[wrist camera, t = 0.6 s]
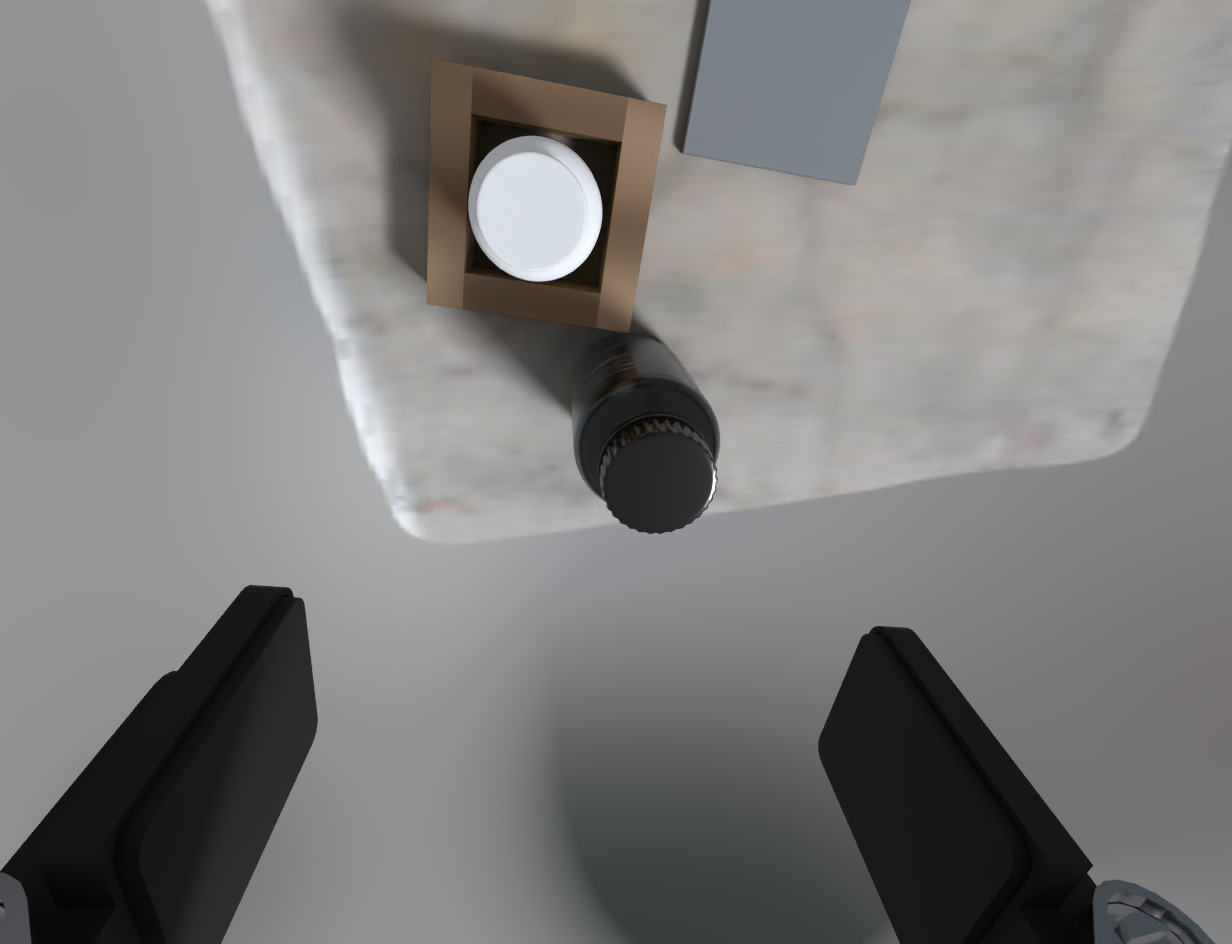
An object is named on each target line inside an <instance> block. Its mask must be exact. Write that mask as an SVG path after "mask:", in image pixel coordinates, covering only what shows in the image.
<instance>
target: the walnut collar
mask: <svg viewBox="0 0 1232 944" xmlns="http://www.w3.org/2000/svg"><path fill="white" fill-rule="evenodd" d="M666 108H667V105H665V104H660V103H655V102H650V101H645V100H640V99H635V98H629V97H624V96H619V95H614V94H609V93H604V92H599V91H594V90H589V89H584V88H579V87H574V86H569V85H564V84H559V83H554V82H549V81H544V80H539V79H534V78H529V77H523V76H518V75H513V74H508V73H503V72H498V71H493V70H488V69H483V68H478V67H473V66H468V65H463V64H458V63H453V62H448V61H443V60H438V59H433V58H431V98H430V151H429V205H428V258H427V304H431V305H438V306H445V307H452V308H459V309H466V310H473V311H480V312H487V313H494V314H501V315H508V316H515V317H522V318H529V319H536V320H543V321H550V322H557V323H564V324H571V325H578V326H585V327H592V328H599V329H606V330H612V331H619V332H626V333H629V330H630V324H631V318H632V312H633V306H634V300H635V294H636V288H637V282H638V276H639V270H640V264H641V258H642V252H643V246H644V240H645V234H646V228H647V222H648V216H649V210H650V204H651V198H652V192H653V186H654V180H655V174H656V168H657V162H658V156H659V150H660V144H661V138H662V132H663V126H664V120H665V114H666ZM480 121H485V122H491V123H496V124H501V125H507V126H512V127H517V128H523V129H528V130H533V131H539V132H544V133H550V134H555V135H560V136H566V137H571V138H576V139H582V140H587V141H593V142H598V143H603V144H609V145H614V146H617V152H616V159H615V166H614V173H613V180H612V188H611V195H610V202H609V209H608V216H607V224H606V231H605V238H604V245H603V252H602V259H601V267H600V274H599V281H598V284H591V283H585V282H578V281H572V280H565V279H559V278H558V279H555V280H550V281H528V280H524V279H520V278H517V277H515V276H513V275H510V274H508V273H507V272H505V271H503V270H500V269H493V268H487V267H480V266H474V265H473V259H474V239H475V235H474V233H473V230H472V227H471V223H470V218H469V210H468V201H469V192H470V188H471V184H472V180H473V177H474V175H475V172H476V170H477V168H478V160H479V140H480Z"/></svg>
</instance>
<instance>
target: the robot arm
mask: <svg viewBox="0 0 1232 944" xmlns="http://www.w3.org/2000/svg"><path fill="white" fill-rule="evenodd" d="M317 722H318V718H317V708H316V700H315V691H314V682H313V674H312V665H311V656H310V648H309V639H308V630H307V622H306V613H305V606H304V601H303V599H302V598H295V597H293V592H292V591H291V589H290V588H287V587H272V586H256V585H249V586H247V587H245V588H244V589H243V590H242V591H241V592H240V594H239V595H238V596H237V597H236V599H235V600H234V601H233V602H232V604H231V605H230V606H229V608H228V609H227V610H226V611H225V612H224V614H223V615H222V616H221V617H220V619H219V620H218V621H217V622H216V624H215V625H214V626H213V627H212V629H211V630H210V631H209V632H208V634H207V635H206V636H205V638H204V639H203V640H202V641H201V642H200V644H199V645H198V646H197V647H196V649H195V650H194V651H193V652H192V654H191V655H190V656H189V657H188V659H187V660H186V661H185V662H184V664H183V665H182V666H181V667H180V669H179V670H178V671H172V672H170V673H168V674H166V675H164V676H163V677H162V678H161V679H160V680H159V681H158V682H156V683H155V685H154V686H153V687H152V688H151V689H150V690H149V692H148V693H147V694H146V695H145V696H144V698H143V699H142V700H141V701H140V703H139V704H138V705H137V706H136V707H135V709H134V710H133V711H132V712H131V713H130V715H129V716H128V717H127V718H126V719H125V721H124V722H123V723H122V724H121V726H120V727H119V728H118V729H117V731H116V732H115V733H114V734H113V735H112V736H111V738H110V739H109V740H108V741H107V743H106V744H105V745H104V746H103V747H102V749H101V750H100V751H99V752H98V754H97V755H96V756H95V757H94V758H93V760H92V761H91V762H90V763H89V764H88V766H87V767H86V768H85V769H84V770H83V772H82V773H81V774H80V775H79V776H78V778H77V779H76V780H75V781H74V783H73V784H72V785H71V786H70V787H69V789H68V790H67V791H66V792H65V793H64V795H63V796H62V797H61V799H60V800H59V801H58V802H57V803H56V804H55V806H54V807H53V808H52V809H51V810H50V812H49V813H48V814H47V815H46V816H45V818H44V819H43V820H42V821H41V823H40V824H39V825H38V826H37V827H36V829H35V830H34V831H33V832H32V834H31V835H30V836H29V837H28V838H27V840H26V841H25V842H24V843H23V845H22V846H21V847H20V848H19V849H18V850H17V852H16V853H15V854H14V855H13V856H12V858H11V859H10V860H9V862H8V863H7V864H6V865H5V866H4V867H3V869H2V870H1V871H0V944H221V942H222V940H223V938H224V936H225V934H226V931H227V929H228V927H229V925H230V923H231V921H232V918H233V916H234V914H235V912H236V910H237V907H238V905H239V903H240V901H241V899H242V896H243V894H244V892H245V890H246V888H247V886H248V883H249V881H250V879H251V877H252V875H253V872H254V870H255V868H256V866H257V864H258V861H259V859H260V857H261V855H262V852H263V851H264V848H265V846H266V844H267V842H268V840H269V837H270V835H271V833H272V831H273V829H274V826H275V824H276V822H277V820H278V817H279V816H280V813H281V811H282V809H283V807H284V805H285V802H286V800H287V798H288V796H289V794H290V791H291V789H292V787H293V785H294V783H295V781H296V778H297V776H298V774H299V772H300V770H301V767H302V765H303V763H304V761H305V759H306V757H307V754H308V752H309V750H310V748H311V746H312V743H313V741H314V738H315V734H316V730H317ZM818 748H819V756H820V759H821V762H822V764H823V767H824V769H825V771H826V774H827V776H828V778H829V781H830V783H831V785H832V787H833V790H834V792H835V794H836V797H837V799H838V801H839V803H840V806H841V808H842V811H843V813H844V815H845V817H846V819H847V822H848V824H849V827H850V829H851V831H852V834H853V836H854V838H855V840H856V843H857V845H858V848H859V850H860V852H861V854H862V857H863V859H864V861H865V863H866V866H867V868H868V871H869V873H870V875H871V878H872V880H873V882H874V884H875V887H876V889H877V891H878V894H879V896H880V898H881V900H882V903H883V905H884V907H885V910H886V912H887V914H888V917H889V919H890V921H891V924H892V926H893V928H894V931H895V933H896V935H897V938H898V940H899V942H900V944H1215V943H1214V942H1213V941H1212V940H1211V938H1210V937H1208V935H1207V934H1206V933H1205V932H1204V931H1203V930H1202V929H1201V928H1200V926H1199V925H1197V924H1196V923H1195V922H1194V921H1193V920H1192V919H1190V918H1189V917H1188V916H1187V915H1186V914H1184V913H1183V912H1182V911H1181V910H1180V909H1179V908H1177V907H1176V906H1174V905H1173V904H1171V903H1170V902H1168V901H1167V900H1165V899H1164V898H1162V897H1160V896H1159V895H1158V894H1156V893H1154V892H1152V891H1150V890H1148V889H1146V888H1144V887H1141V886H1139V885H1137V884H1134V883H1130V882H1126V881H1122V880H1108V881H1103V882H1102V883H1101V884H1100V885H1098V886H1096V885H1095V883H1094V882H1093V881H1092V879H1091V878H1090V876H1089V875H1088V874H1087V872H1088V871H1089V870H1090V869H1091V867H1092V866H1093V865H1092V864H1091V862H1090V861H1089V859H1088V858H1087V857H1086V856H1085V854H1084V853H1083V852H1082V850H1081V849H1080V848H1079V846H1078V845H1077V844H1076V842H1075V841H1074V840H1073V838H1072V837H1071V836H1070V835H1069V833H1068V832H1067V831H1066V829H1065V828H1064V827H1063V825H1062V824H1061V823H1060V821H1059V820H1058V819H1057V818H1056V816H1055V815H1054V814H1053V812H1052V811H1051V810H1050V809H1049V807H1048V806H1047V805H1046V803H1045V802H1044V800H1043V799H1042V798H1041V797H1040V795H1039V794H1038V793H1037V791H1036V790H1035V789H1034V787H1033V786H1032V785H1031V783H1030V782H1029V781H1028V780H1027V778H1026V777H1025V776H1024V774H1023V773H1022V772H1021V771H1020V769H1019V768H1018V766H1017V765H1016V764H1015V763H1014V761H1013V760H1012V759H1011V757H1010V756H1009V755H1008V753H1007V752H1006V751H1005V749H1004V748H1003V747H1002V746H1001V744H1000V743H999V742H998V740H997V739H996V738H995V736H994V735H993V734H992V732H991V731H990V730H989V729H988V727H987V726H986V725H985V723H984V722H983V721H982V720H981V718H980V717H979V715H978V714H977V713H976V711H975V710H974V709H973V708H972V706H971V705H970V704H969V702H968V701H967V700H966V698H964V696H963V695H962V693H961V692H960V691H959V689H958V688H957V687H956V685H955V684H954V683H953V681H952V680H951V679H950V678H949V676H948V675H947V674H946V672H945V671H944V670H943V669H942V667H941V666H940V665H939V663H938V662H937V660H936V659H935V658H934V657H933V655H932V654H931V653H930V651H929V650H928V649H927V648H926V646H925V645H924V643H923V642H922V641H921V640H920V638H919V637H918V636H917V635H916V633H915V632H914V631H912V630H911V629H908V628H901V627H884V626H876V627H874V628H873V629H871V631H870V633H869V634H865V635H863V636H862V638H861V640H860V642H859V644H858V647H857V649H856V652H855V654H854V656H853V659H852V661H851V663H850V666H849V668H848V670H847V673H846V676H845V678H844V680H843V682H842V685H841V687H840V690H839V692H838V694H837V697H836V699H835V702H834V704H833V706H832V709H831V711H830V714H829V716H828V718H827V721H826V723H825V725H824V728H823V730H822V733H821V735H820V738H819V744H818Z"/></svg>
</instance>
